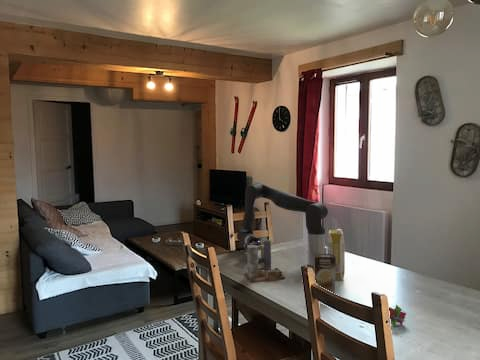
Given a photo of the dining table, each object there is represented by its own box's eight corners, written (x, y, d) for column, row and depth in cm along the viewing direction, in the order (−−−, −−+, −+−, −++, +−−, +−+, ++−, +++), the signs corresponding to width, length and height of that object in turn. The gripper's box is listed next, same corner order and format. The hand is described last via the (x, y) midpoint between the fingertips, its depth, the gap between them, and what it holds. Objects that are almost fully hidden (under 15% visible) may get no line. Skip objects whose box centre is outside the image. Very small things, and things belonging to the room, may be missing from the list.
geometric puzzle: (405, 314, 146) (392, 297, 146) (414, 322, 139) (401, 304, 139) (390, 326, 146) (377, 309, 146) (398, 334, 139) (384, 317, 139)
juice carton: (344, 281, 189) (344, 231, 187) (327, 281, 190) (327, 231, 188) (343, 275, 198) (343, 227, 196) (327, 274, 199) (327, 227, 197)
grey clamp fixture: (268, 266, 215) (267, 239, 214) (271, 269, 211) (270, 241, 209) (253, 267, 214) (253, 240, 212) (256, 270, 209) (256, 242, 208)
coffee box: (314, 293, 175) (314, 257, 173) (313, 288, 181) (312, 253, 180) (335, 293, 174) (335, 257, 172) (333, 288, 180) (333, 253, 179)
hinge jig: (276, 271, 207) (275, 240, 206) (284, 278, 195) (284, 246, 193) (244, 274, 203) (244, 243, 202) (251, 282, 191) (251, 249, 189)
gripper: (240, 236, 235) (247, 242, 219) (263, 234, 238) (272, 240, 222) (240, 249, 235) (248, 256, 220) (264, 247, 239) (273, 253, 223)
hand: (260, 248), depth 221 cm, fingers open, 8 cm apart
